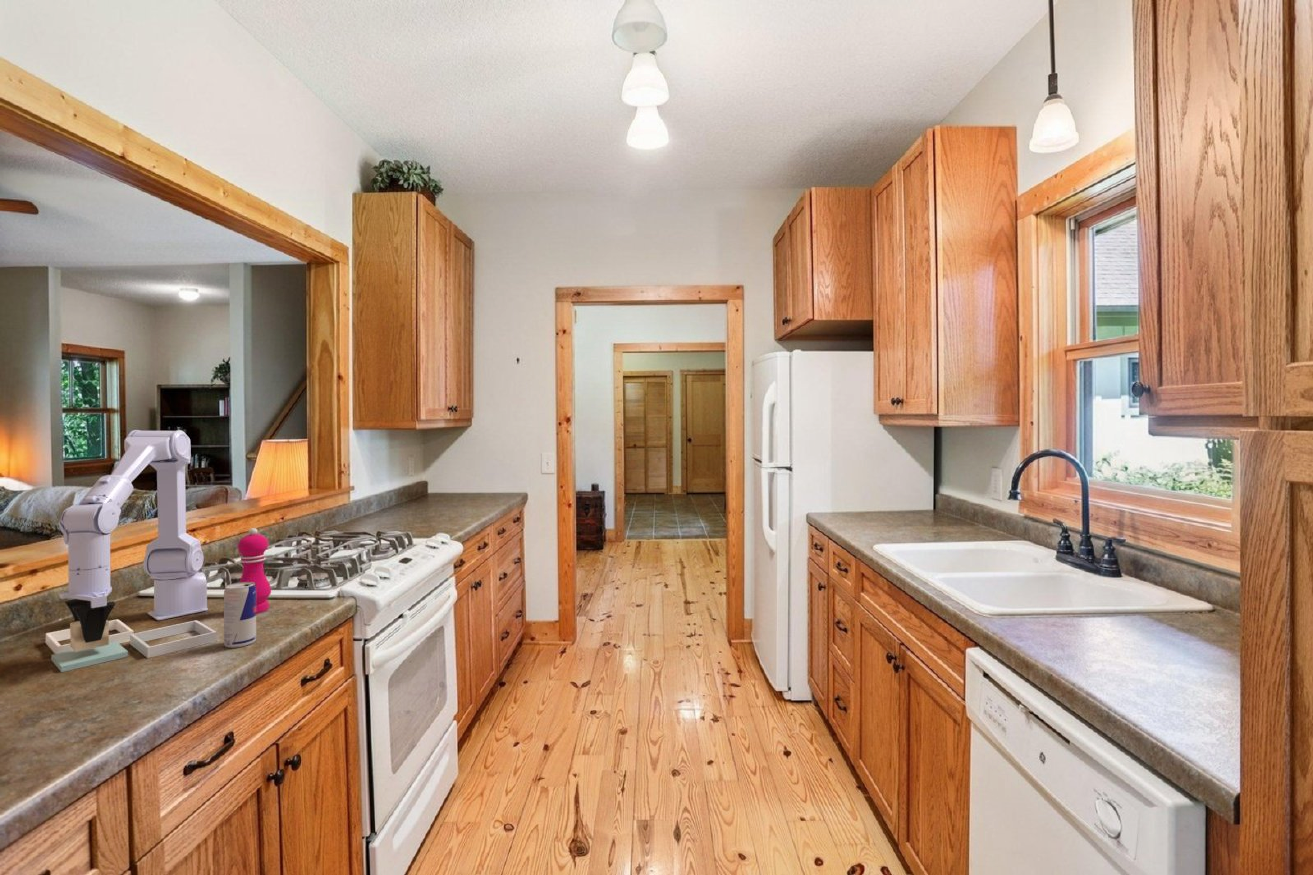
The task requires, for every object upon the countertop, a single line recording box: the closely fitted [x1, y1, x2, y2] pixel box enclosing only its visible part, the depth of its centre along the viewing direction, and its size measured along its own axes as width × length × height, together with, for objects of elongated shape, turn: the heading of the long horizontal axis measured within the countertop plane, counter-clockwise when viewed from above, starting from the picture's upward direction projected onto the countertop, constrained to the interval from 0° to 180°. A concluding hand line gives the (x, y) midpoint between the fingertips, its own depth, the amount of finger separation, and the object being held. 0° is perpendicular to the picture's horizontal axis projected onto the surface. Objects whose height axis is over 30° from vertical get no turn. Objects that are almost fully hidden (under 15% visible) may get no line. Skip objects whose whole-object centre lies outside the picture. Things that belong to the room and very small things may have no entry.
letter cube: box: [69, 620, 110, 652], centre depth 110 cm, size 4×4×5 cm
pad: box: [51, 641, 129, 673], centre depth 110 cm, size 9×9×1 cm
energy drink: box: [223, 582, 257, 649], centre depth 118 cm, size 5×5×12 cm
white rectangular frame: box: [129, 619, 218, 659], centre depth 118 cm, size 11×12×2 cm
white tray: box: [45, 619, 135, 654], centre depth 118 cm, size 11×12×2 cm
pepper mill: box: [237, 527, 272, 614], centre depth 139 cm, size 7×7×20 cm
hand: (90, 638), depth 110 cm, fingers closed on letter cube, 4 cm apart
